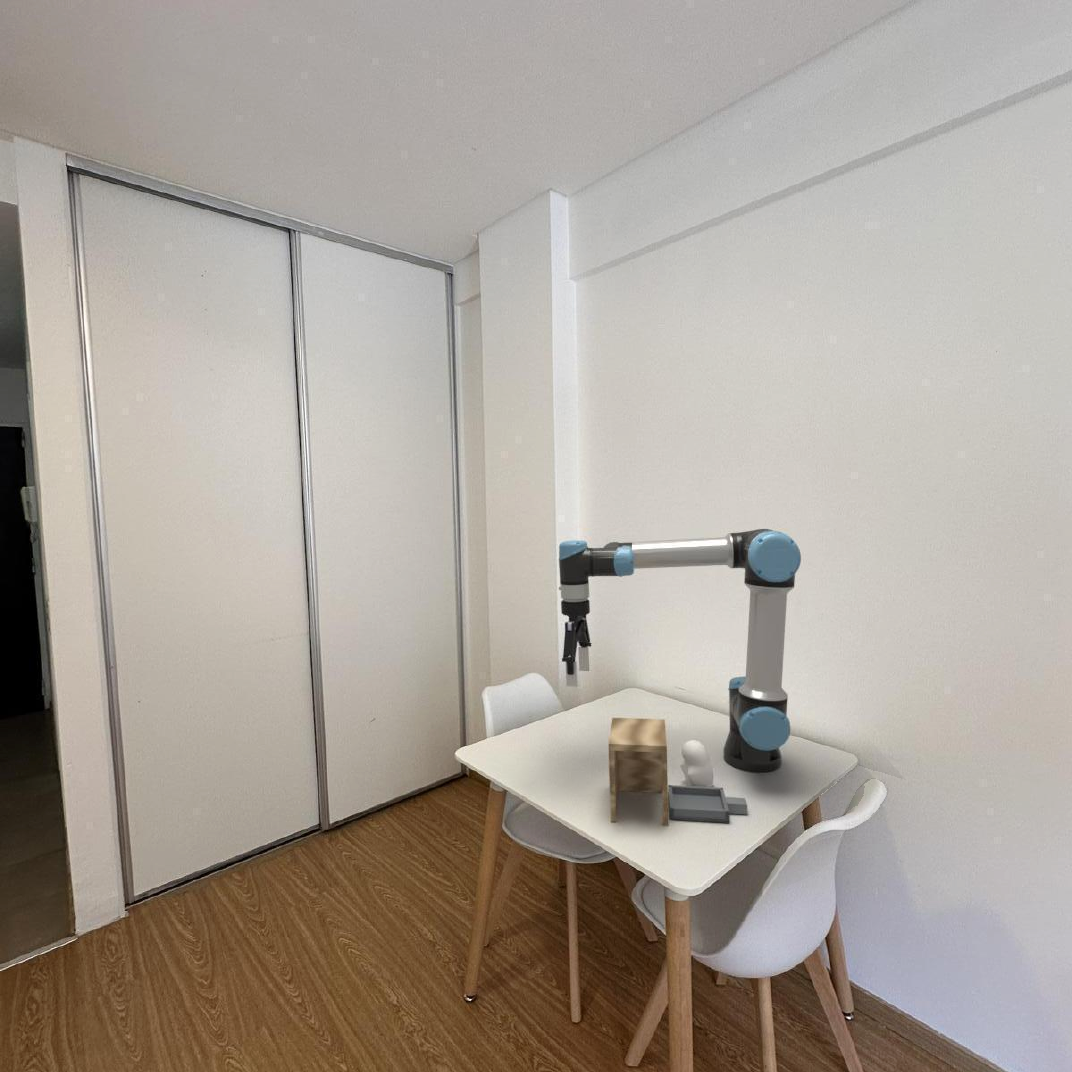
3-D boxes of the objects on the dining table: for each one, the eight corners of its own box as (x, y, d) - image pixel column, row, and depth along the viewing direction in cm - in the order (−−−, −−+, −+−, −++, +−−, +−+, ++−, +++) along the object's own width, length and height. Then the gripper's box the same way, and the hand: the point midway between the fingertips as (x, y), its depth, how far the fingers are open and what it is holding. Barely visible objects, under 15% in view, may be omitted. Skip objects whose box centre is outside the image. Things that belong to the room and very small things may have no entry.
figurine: (679, 781, 155) (678, 736, 154) (707, 779, 155) (706, 734, 154) (687, 794, 148) (686, 747, 147) (717, 792, 148) (716, 745, 147)
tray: (742, 799, 144) (742, 788, 144) (750, 824, 133) (750, 812, 133) (668, 795, 147) (668, 785, 147) (670, 819, 137) (670, 808, 136)
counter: (666, 790, 150) (664, 719, 149) (668, 825, 134) (666, 746, 133) (614, 788, 152) (612, 717, 151) (610, 822, 137) (608, 743, 135)
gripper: (573, 591, 170) (576, 664, 171) (547, 608, 146) (551, 692, 148) (598, 591, 168) (601, 665, 169) (577, 608, 144) (581, 694, 145)
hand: (578, 678), depth 158 cm, fingers open, 13 cm apart
